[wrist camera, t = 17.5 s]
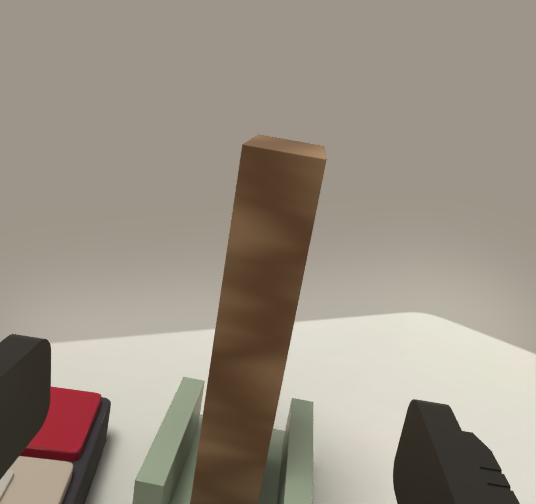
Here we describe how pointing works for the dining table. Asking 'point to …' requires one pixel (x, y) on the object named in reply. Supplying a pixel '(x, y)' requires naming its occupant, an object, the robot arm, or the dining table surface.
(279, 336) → the tall board
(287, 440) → the board holder
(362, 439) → the dining table surface
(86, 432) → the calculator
